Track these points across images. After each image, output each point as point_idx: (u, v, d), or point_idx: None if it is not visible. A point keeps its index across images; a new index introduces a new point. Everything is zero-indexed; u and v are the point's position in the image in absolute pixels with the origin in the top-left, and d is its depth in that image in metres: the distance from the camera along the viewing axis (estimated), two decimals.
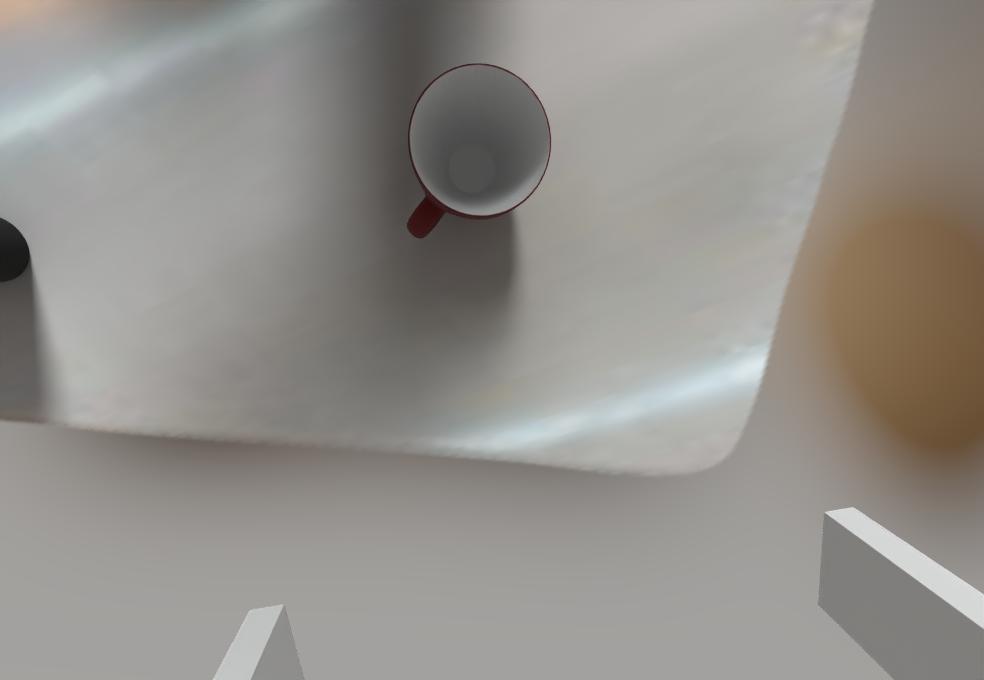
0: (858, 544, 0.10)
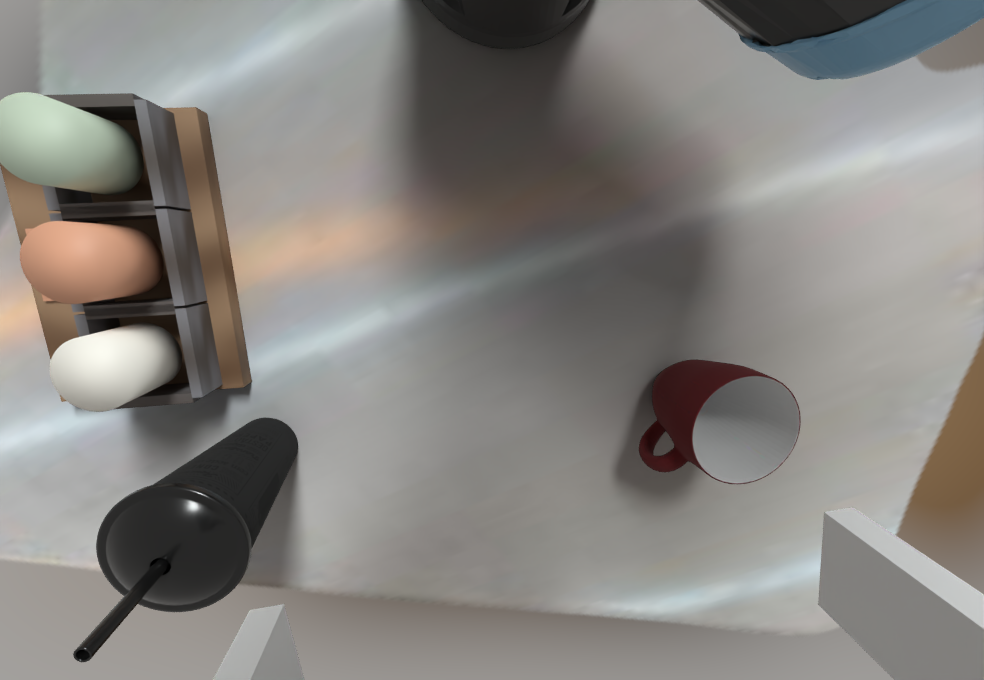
0: (858, 543, 0.10)
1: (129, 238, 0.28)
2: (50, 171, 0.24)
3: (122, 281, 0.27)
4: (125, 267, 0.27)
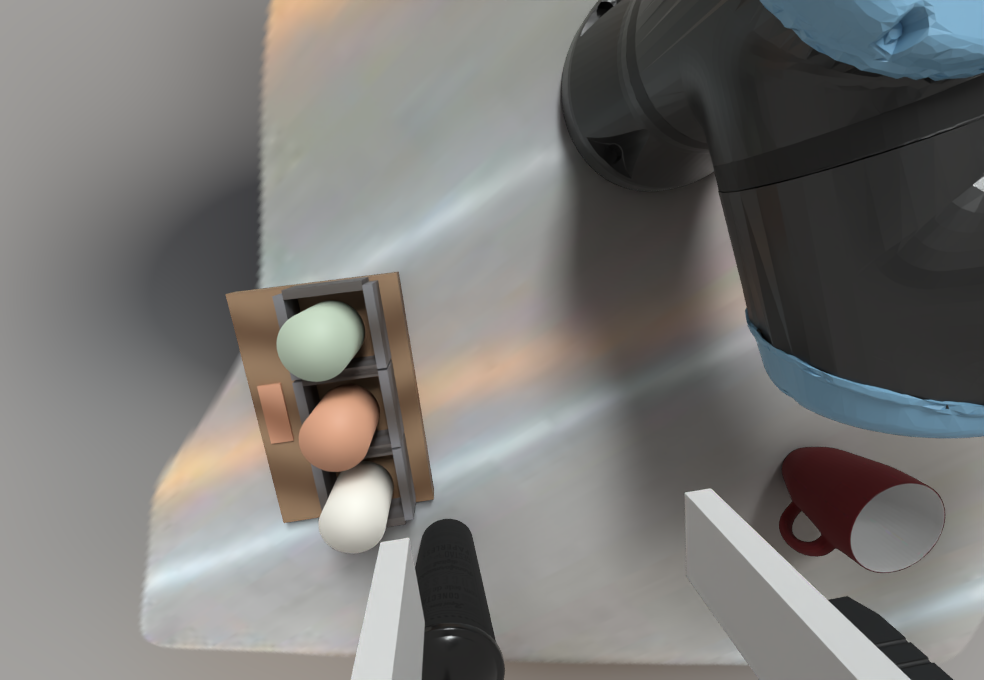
0: (703, 519, 0.11)
1: (366, 403, 0.33)
2: (324, 371, 0.29)
3: None
4: (372, 433, 0.32)
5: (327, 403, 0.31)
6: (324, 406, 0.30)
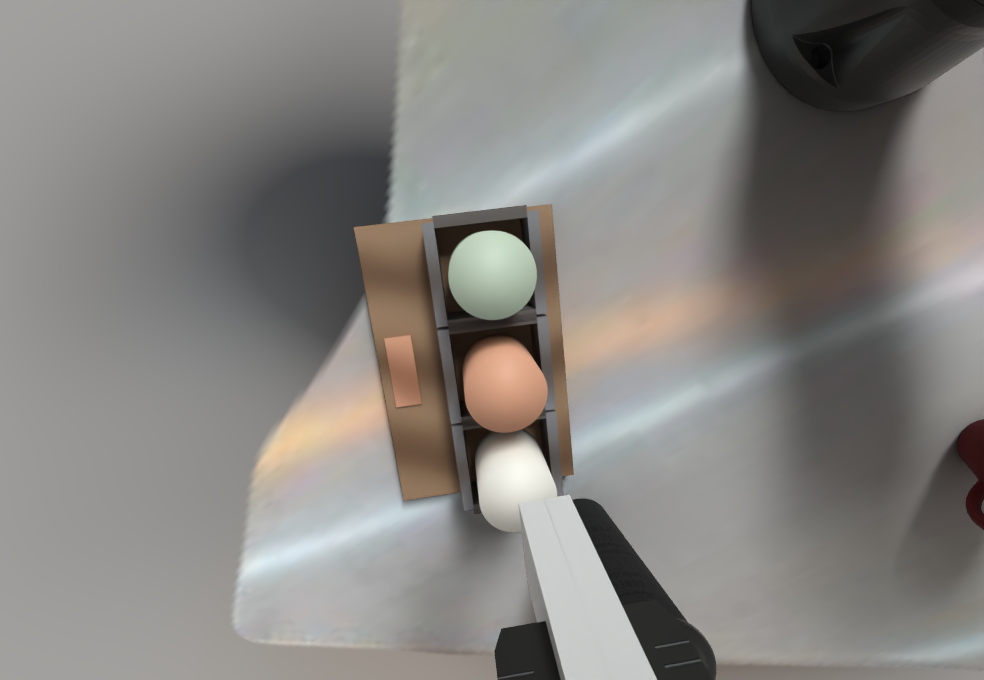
0: (551, 525, 0.12)
1: (529, 354, 0.27)
2: (502, 306, 0.24)
3: None
4: None
5: (494, 350, 0.25)
6: (494, 352, 0.25)
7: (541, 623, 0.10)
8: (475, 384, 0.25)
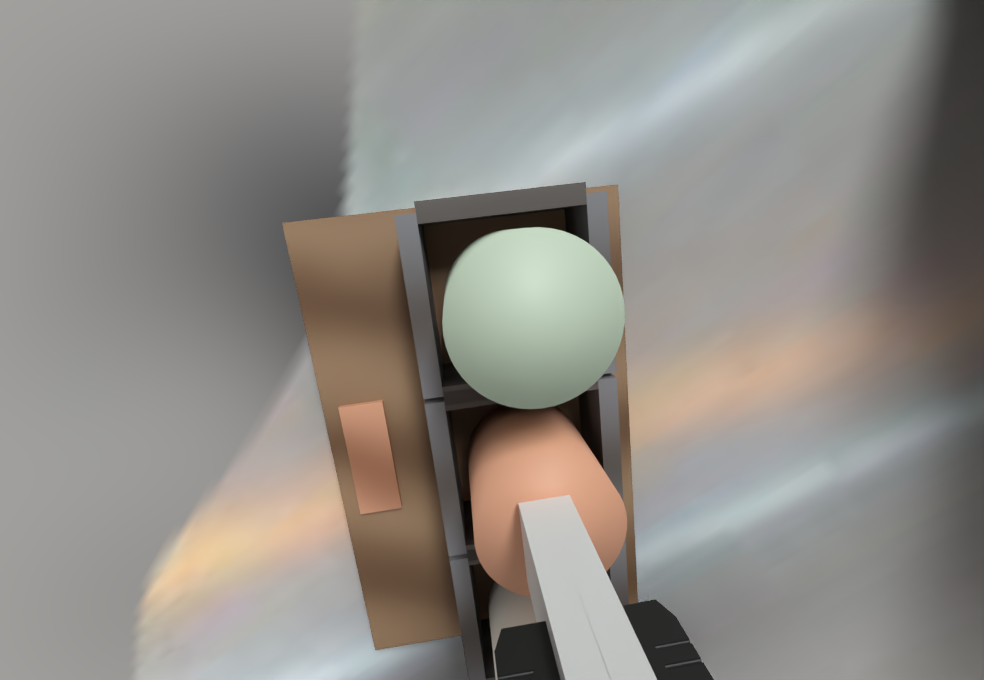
0: (551, 525, 0.12)
1: (584, 442, 0.16)
2: (552, 382, 0.12)
3: None
4: None
5: (528, 446, 0.14)
6: (528, 455, 0.13)
7: (541, 623, 0.10)
8: (494, 517, 0.13)
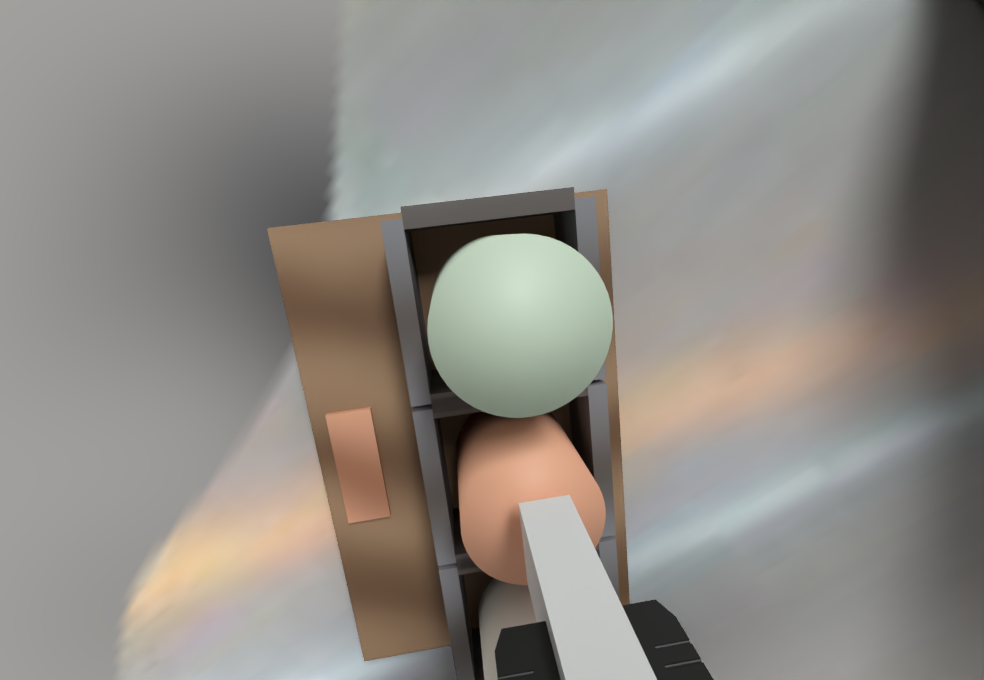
0: (551, 525, 0.12)
1: (567, 437, 0.17)
2: (539, 390, 0.11)
3: None
4: None
5: (512, 441, 0.15)
6: (512, 448, 0.14)
7: (541, 623, 0.10)
8: (479, 508, 0.14)
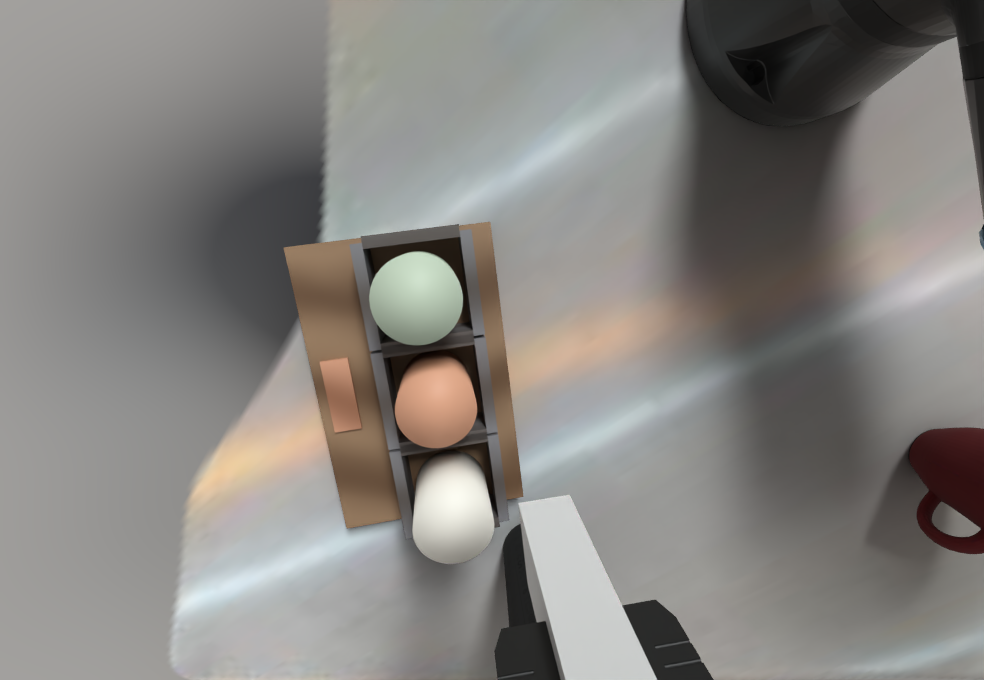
0: (551, 524, 0.12)
1: (463, 370, 0.28)
2: (427, 331, 0.23)
3: None
4: None
5: (425, 367, 0.26)
6: (423, 370, 0.26)
7: (541, 623, 0.10)
8: (405, 401, 0.25)
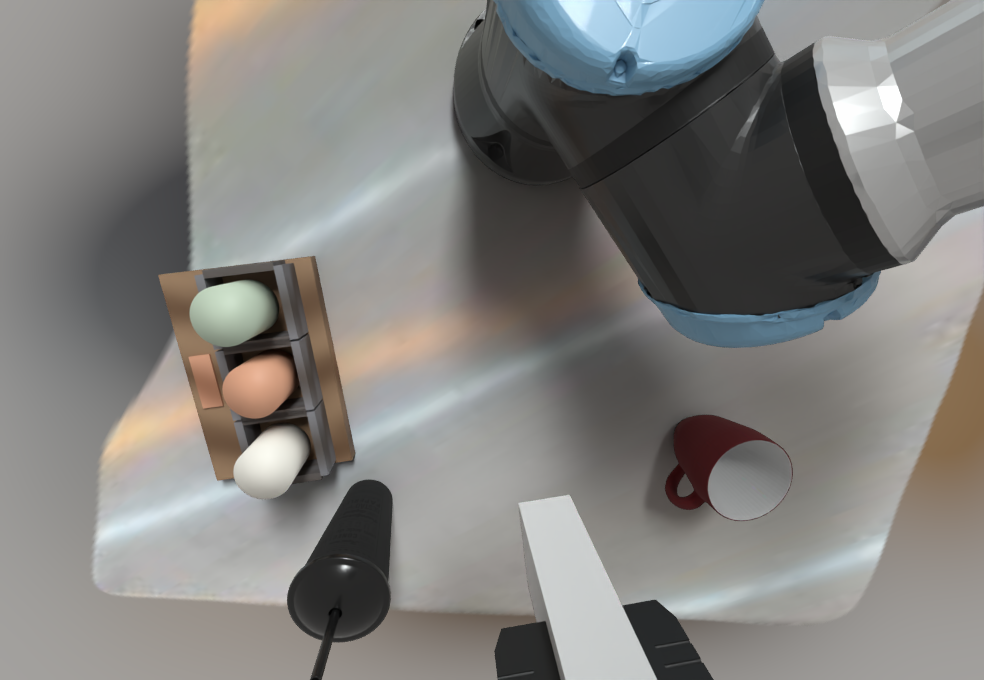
0: (551, 525, 0.12)
1: (284, 364, 0.39)
2: (232, 337, 0.34)
3: (285, 397, 0.38)
4: (287, 388, 0.38)
5: (247, 361, 0.37)
6: (244, 363, 0.37)
7: (541, 623, 0.10)
8: (229, 385, 0.36)
